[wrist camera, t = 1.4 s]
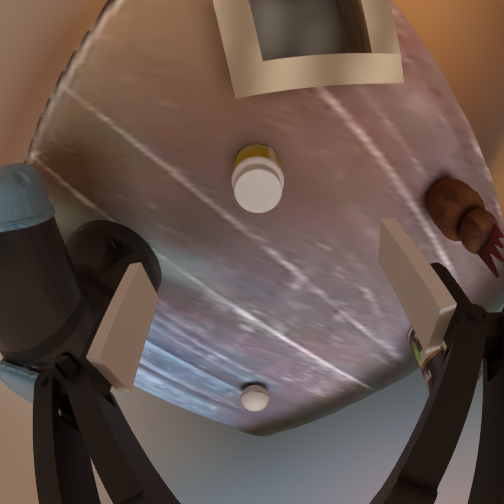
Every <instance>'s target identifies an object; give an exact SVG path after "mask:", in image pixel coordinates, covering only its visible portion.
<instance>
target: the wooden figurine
mask: <svg viewBox="0 0 504 504" xmlns="http://www.w3.org/2000/svg"><path fill="white" fill-rule="evenodd" d="M427 207H428V211H429V213H430V215H431V218H432V219H433V221H434V223H435V224H436V225H437V227H438V228H439V229H440V231H441V232H442V233H443V234H444V235H445V237H447V238H449V239H450V240H453V241H462V243H463V245H464V246H465V248H466V249H467V250H468V251H469V252H471V253H474V254H478V255H479V256H480V258H481V259H482V260H483V261H484V262H485V264H486V265H487V266H488V267H489V268H490V270H491V271H492V272H493V273H494V275H495V276H496V277H497V278H499V274H498V271H497V269H496V266H495V264H494V262H493V260H492V257H491V255H490V253H491V254H492V255H493V256H495V257H496V258H497V259H499V260H500V261H501V262H503V263H504V258H503V257H502V255H501V254H500V252H499V251H498V249H497V248H496V246H495V244H496V245H497V246H499V247H501V248H502V249H503V248H504V246H503V244H502V243H501V241H500V240H499V239H498V237H500V238H504V235H503V234H502V232H501V231H500V229H499V224H498V223H497V221H496V219H495V217H494V216H493V215H492V214H491V213H490V212H488V211H487V210H485V206H484V202H483V200H482V199H481V197H480V196H479V194H478V193H477V192H476V191H474V190H473V189H472V188H471V187H470V186H469V185H467V184H466V183H464V182H463V181H460V180H456V179H444V180H442V181H440V182H438V183H437V184H436V185H435V186H434V187H433V188H432V189H431V191H430V193H429V195H428V197H427Z"/></svg>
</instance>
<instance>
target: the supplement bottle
mask: <svg viewBox="0 0 504 504" xmlns="http://www.w3.org/2000/svg"><path fill="white" fill-rule="evenodd" d="M231 181H232V187H233V190H234V195H235V198H236V200H237V202H238V204H239V205H240V206H241V207H242V208H244V209H245V210H247V211H249V212H253V213H263V212H267V211H269V210H271V209H272V208H274V207H275V206H276V205H277V204H278V202H279V201H280V199H281V195H282V190H283V186H284V175H283V172H282V168H281V164H280V161H279V157H278V155H277V153H276V152H275V150H274V149H273V148H272V147H270V146H268V145H266V144H264V143H250V144H248V145H246V146H244V147H243V148H242V149H241V150H240V151H239V152H238V154H237V156H236V159H235V164H234V169H233V173H232V180H231Z"/></svg>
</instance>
